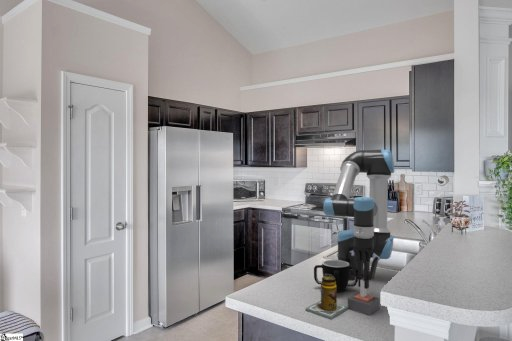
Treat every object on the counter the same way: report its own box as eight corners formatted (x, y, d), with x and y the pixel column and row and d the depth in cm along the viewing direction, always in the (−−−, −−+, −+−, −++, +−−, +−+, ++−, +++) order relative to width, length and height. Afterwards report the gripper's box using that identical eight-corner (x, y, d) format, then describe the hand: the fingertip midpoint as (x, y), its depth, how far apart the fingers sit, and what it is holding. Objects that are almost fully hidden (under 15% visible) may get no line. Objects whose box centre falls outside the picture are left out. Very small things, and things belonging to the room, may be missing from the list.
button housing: (358, 301, 143) (358, 292, 143) (379, 308, 136) (379, 298, 136) (347, 308, 136) (347, 298, 136) (369, 315, 130) (369, 304, 130)
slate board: (323, 301, 144) (323, 299, 144) (348, 309, 136) (348, 306, 136) (305, 310, 135) (305, 308, 135) (331, 319, 127) (331, 317, 127)
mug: (310, 286, 161) (310, 261, 161) (337, 281, 168) (337, 257, 168) (333, 298, 146) (333, 270, 146) (361, 292, 154) (361, 265, 153)
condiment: (338, 312, 131) (338, 281, 130) (316, 311, 132) (315, 280, 131) (336, 304, 138) (336, 274, 138) (315, 303, 139) (314, 274, 139)
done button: (360, 300, 140) (360, 292, 140) (373, 303, 136) (373, 296, 136) (354, 304, 136) (354, 296, 136) (367, 307, 132) (367, 300, 132)
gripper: (344, 235, 138) (344, 294, 138) (375, 240, 129) (375, 303, 129) (353, 232, 143) (353, 289, 143) (383, 237, 134) (383, 297, 134)
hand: (363, 295), depth 136 cm, fingers closed
